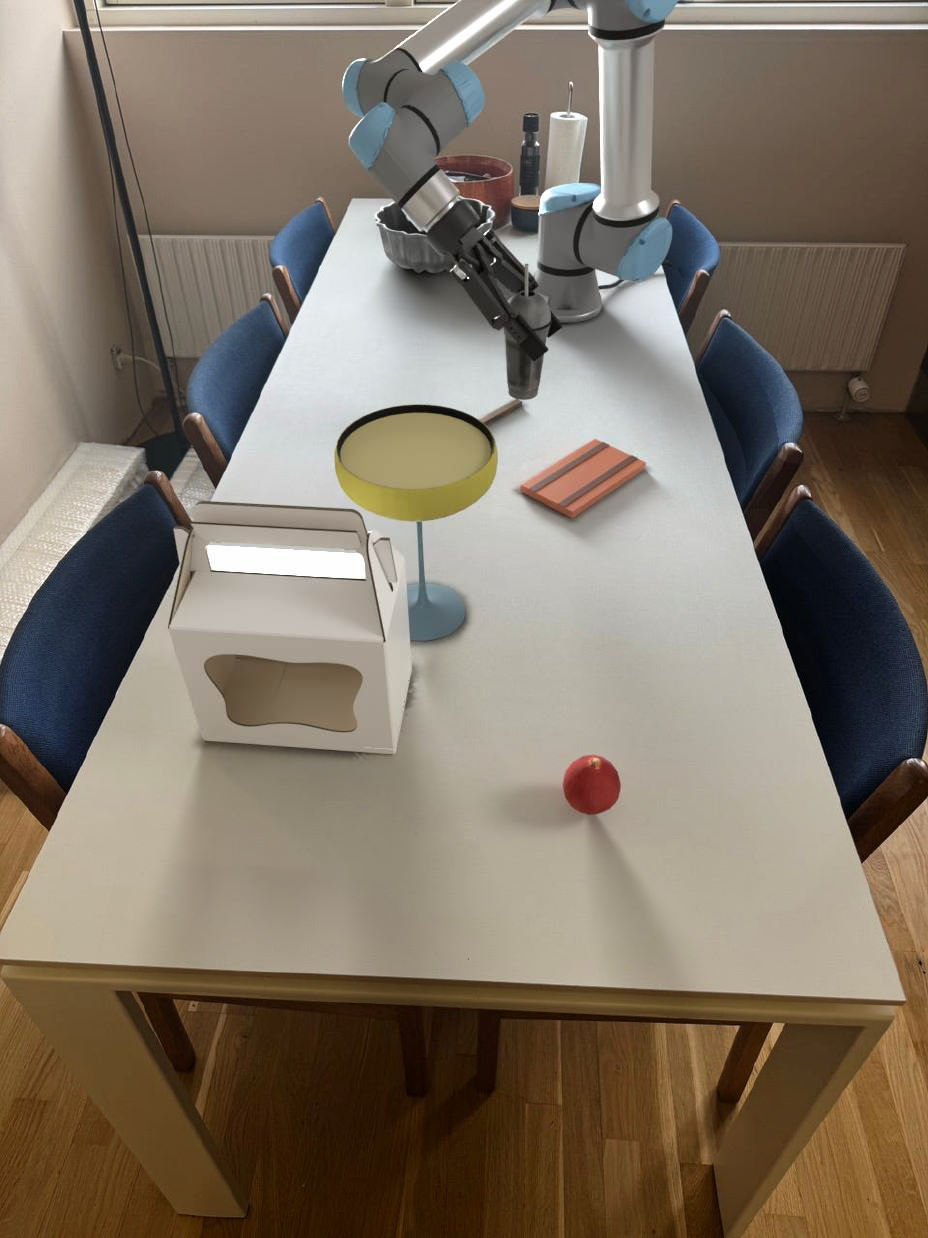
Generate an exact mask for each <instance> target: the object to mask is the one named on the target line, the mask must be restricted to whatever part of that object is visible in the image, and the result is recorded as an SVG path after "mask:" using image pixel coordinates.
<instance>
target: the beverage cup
mask: <svg viewBox="0 0 928 1238" xmlns="http://www.w3.org/2000/svg"><path fill="white" fill-rule="evenodd" d="M524 267H525V291H520V292H518V293H516V294H513V295H511V296H510V298H509V299H507V301H508V303H509V305H510V306H511V308H512V310H513V312H514V313H515V316H516V315H518V314H520V315H521V316H522V317H523V319H524V320H525V321H526V322H527V323H528V325H529V326H530V327H531V328H532V329H533V331H534V332H535V333H536V334H537V335H538V337H539V338H540V339H541V340H542V341H543V343H544V344H545V345H546V344H547V339H548V337H547V335H548V332H549V328H550V325H551V322H552V320H551V313H550V309H549V306H548V304H547V302H546V300H545V299H544V298H543V297H542V296H541V295H540V294H538V293H536V292H534V291H529V290H528V271H529V263H524ZM502 332H503V333H502V334H503V335H504V336H503V337H504V350H505V367H506V368H505V370H506V384H507V391H508V392H507V393H508V396H510V397H511V398H513V399H514V400H515V399H518V400H520V401H527V400H532V399H534V398H536V397H537V396H538V393H539V387H540V384H541V378H542V371H543V364H544V357H545V354H543V355H542V356H541V357H540V358H538V359H537V360H536V361H534V362H533V360H532V359H531V358H530V357H529V356H528V355H527V353H526V352H525V351H524V350H523V349H522V347H521V346H520V345H519V344H518V343H517V341H516V340H515V339H514V338H513V337H512V336H511V334H510V333H509V332H508V331H507V330H506V328H505V327H503V328H502ZM546 346H547V345H546Z"/></svg>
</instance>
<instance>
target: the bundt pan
mask: <svg viewBox="0 0 928 1238" xmlns="http://www.w3.org/2000/svg"><path fill="white" fill-rule="evenodd" d="M458 197H459V198H460V200H461V199H462V198H463V199H466V200H467V202H468V203H469V204H470V205H471V206H472V208H473V209H474V210H475V211H476V213H477V214H478V215H479V221H478V222H477V224H476V225H475V227H476V228H477V229H478V230H479V231H480V232H482V233H483V234H485V233H486V232H487V231H488V230H489V229H492V230H493V224H494V223H493V222H494V220H495V219H496V212H495V211H494V210H492V205H488V204H485V203H484V202H483V201H481V200H479V199H475V198H467V197H466V198H465V197H464V196H461V195H458ZM374 220H375V221H376V222H375V224H376V227H378V230H379V234H380V238H381V242H382V248H383V251H384V254H385V257H387V259H388V260H389V261H390V262H392V263H394V264H396V265H398V266H399V267H401V268H403V269H407V270H414V272H415V273H417V274H420V273H423V272H424V271H426V272H428V273H432V274H437V273H440V272H443V271H446V272H447V273H450V271H451V270H452V269H453V268H454V267H455V265H456V263H455V262H454V260H453V258H452V256H451V255H450V253H449V252H447V253H446V254H445V255H443V256H440V255H439V254H438V253H437V252H436V251H435V250H434V248H433V247H432V246H431V245H430V244H429V243H428V241H427V240H426V239H425V238H426V237H425V235H426V234H427V233H426V232H425V230H423V231H419V230H418V229H417V228H416V227H415V225H414V224H413V223H412V222H411V221H409V220H408V219H407V218H406V215H405V213H404V212H403V211H402V210H401V209H400V208H399V207H398V205H397V204H396V203H395V202H394V201H393V202H390V203H389V204H388V205H385V206H381V207H380V209H379V211H377V212H376V213H375V214H374Z"/></svg>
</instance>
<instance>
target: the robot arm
mask: <svg viewBox="0 0 928 1238" xmlns="http://www.w3.org/2000/svg"><path fill="white" fill-rule="evenodd" d="M678 2H679V0H458V1H456V2H455V3H453V4H452V5H451V6H450V7H448V8H447V9H446V10H444V11H443V12H441V13H440V14H439V15H437V16H436V17H435V18H433V19H432V20H431V21H429V22H428V23H427V24H425V25H424V26H422V27H421V28H420V29H419V30H417V31H416V32H414V33H413V34H412V35H410V36H409V37H408V38H406V39H405V40H404V41H402V42H400V44H398V45H397V46H396V47H394V48H393V49H391V50H390V51H389V52H388V53H386V54H384V55H382V56H381V57H380V58H378V59H374V58H359V59H356V60H354V61H353V62H352V63H350V64H349V65H348V67H347V68H346V70H345V72H344V75H343V78H342V84H341V88H342V89H341V91H342V97H343V100H344V101H343V102H345V105H346V107H347V108H348V110H349V111H350V112H351V113H352V114H353V115H355V116H357V117H360V118H361V119H360V121H359V122H358V123H357V124H356V125H355V127H354V128H353V129H352V131H351V133H350V135H349V136H348V146H349V148H350V150H351V151H352V153H353V154H354V156H355V157H356V158H357V160H358V161H359V163H360V164H361V165H362V166H363V167H364V169H365V172H366V173H369V175H370V176H371V177H372V178H373V179H374V180H375V182H377V183H378V184H379V186H380V187H381V189H383V190H384V191H385V193H386V194H387V195H388V196H389V197H390V198H391V200H392V201H393V202H395V203H396V204H397V205H398V207H399V208H400V209H401V210H402V211H403V212H404V213H405V215H406V218H407V219H408V220H409V221H411V222H412V223H413V224H414V225H415V227H416V228H417V229H418V230H419V231H423V230H425V232H426V233H427V234H426V235H425V237H426V238H425V239H426V240H427V241H428V243H429V244H430V245H431V246H432V247H433V248H434V250H435V251H436V252H437V253H438V254H439V255H440V256H443V255H445V254H446V253H447V252H449V253H450V255H451V256H452V258H453V260H454V262H455V263H456V265H455V267H454V268H453V269H452V270H451V271H450V272H449V274H450V276H451V277H452V279H454V280H455V281H456V282H457V283H458V284H459V285H460V286H461V288H462V289H463V290H464V291H465V293H466V294H467V295H468V297H469V298H470V300H471V301H472V302H473V303H474V305H475V306H476V308H477V309H478V310H479V312H480V313H481V314H482V316H483V317H484V319H485V320H486V321H487V323H488V324H489V325H490V326H491V328H492V329H493V330H496V331H498V332H499V331H501V330H503V327H505V328H506V330H507V331H508V332H509V333H510V334H511V336H512V337H513V338H514V339H515V340H516V341H517V343H518V344H519V345H520V346H521V347H522V349H523V350H524V351H525V352H526V353H527V355H528V356H529V357H530V358H531V359H532V360H533V362H534V361H536V360H537V359H538V358H540V357H541V356H542V355H543V354H544V355H545V354H547V353H548V351H549V350H550V349H549V347H548V346H547V345H545V344H544V343H543V341H542V340H541V339H540V338H539V337H538V335H537V334H536V333H535V332H534V331H533V329H532V328H531V327H530V326H529V325H528V323H527V322H526V321H525V320H524V319H523V317H522V316H521V315H520V314H518V315H516V316H515V313H514V312H513V310H512V308H511V306H510V305H509V303H508V299H507V298H506V296H505V294H504V292H503V290H502V288H501V287H500V286H499V284H498V282H499V283H500V284H501V285H502V286H503V287H505V288H506V289H507V290H508V291H510V292H511V293H512V294H513V295H515V294H516V293H518V292H520V291H525V265H523V264H522V263H521V262H520V260H519V259H518V258H517V257H516V256H515V255H514V254H513V253H512V252H511V251H510V249H508V247H507V246H506V245H505V244H504V243H503V242H502V241H501V239H500V237H499V236H498V235H497V233H496V232H495V230H493V228H492V229H489V230H488V231H487V232H486V233H485V234H483V233H482V232H480V231H479V230H478V229H477V228H476V227H475V225H476V224H477V222H478V221H479V215H478V214H477V213H476V211H475V210H474V209H473V208H472V206H471V205H470V204H469V203H468V202H467V200H466V199H463V198H464V197H463V198H462V199H461V200H460V198H459V197H458V196H460V193H461V192H460V190H459V189H458V187H457V186H456V185H455V184H454V182H453V181H452V180H451V179H450V178H449V176H448V175H447V174H446V173H445V172H444V170H443V169H441V167H440V166H439V165H438V163H437V162H436V160H435V158H436V157H437V156H439V155H440V153H441V152H442V151H443V150H444V149H446V147H448V145H450V144H451V143H452V142H453V141H454V140H455V139H456V138H457V137H459V136H460V135H461V134H462V133H463V132H464V131H465V130H467V129H469V127H470V126H471V124H472V122H473V121H474V120H475V119H476V118H478V116H479V115H480V114H481V113H482V112H483V109H484V108H485V103H486V97H485V92H484V89H483V85H482V83H481V81H480V78H479V76H477V74H476V73H475V72H474V71H473V70H472V68H471V67H469V66H468V65H470V64H471V63H472V62H473V61H475V60H476V59H477V58H479V57H480V56H482V54H484V53H485V52H486V51H488V50H489V49H490V48H492V47H494V45H497V43H498V42H500V41H501V40H503V39H504V38H505V37H506V36H508V35H509V34H510V33H512V32H513V31H514V30H515V29H517V28H518V27H519V26H521V25H523V24H524V22H526V21H528V20H533V21H537V20H540V19H541V18H543V17H545V16H546V15H547V14H548V13H550V12H552V11H556V10H561V9H576V10H578V11H585V12H587V22H588V23H587V24H588V26H587V27H588V35H589V37H590V38H591V39H592V40H593V41H594V42H595V43H596V44H597V45H598V69H599V70H598V75H599V76H598V77H599V80H598V82H599V125H600V126H599V133H600V135H599V136H600V137H599V140H600V185H599V184H596V183H590V182H573V183H565V184H559V185H555V186H553V187H551V188H548V189H546V190H545V191H544V192H543V193H542V195H541V196H540V203H539V209H538V210H539V212H538V213H537V214H538V218H537V219H538V221H537V222H538V223H537V248H536V249H537V252H536V253H537V254H536V268H535V272H534V274H532V273H531V272H530V271H529V270H528V290H529V291H534V292H536V293H538V294H540V295H541V296H542V297H543V298H544V299H545V300H546V302H547V304H548V306H549V309H550V313H551V320H552V322H551V325H550V328H549V332H548V335H547V339H549V338H551V337H552V336H553V335H554V334H556V333H557V332H558V331H560V330H561V329H562V328H563V327H564V325H563V324H572V323H580V322H584V321H588V320H591V319H593V318H595V317H596V316H597V315H599V314H600V312H601V310H602V295H601V292H600V290H601V291H602V290H608V289H613V288H616V287H617V286H619V285H621V284H622V283H623V282H624V281H628V282H632V283H642V282H644V281H647V280H648V279H650V278H651V277H653V275H654V274H655V273H656V272H657V271H658V270H659V268H660V267H661V266H662V265H667V266H668V267H670V268H671V267H672V268H673V267H674V264H673V263H672V262H671V261H669V260H667V259H666V257H667V255H668V252H669V250H670V247H671V244H672V240H673V227H672V224H671V222H669V219H667V218H666V217H663V216H660V198H659V195H658V194H657V193H656V192H655V191H654V190H652V167H653V166H652V164H653V163H652V159H653V121H654V118H653V117H654V78H655V77H654V76H655V75H654V74H655V40H656V37H657V36H658V35H659V34H660V33H661V32H662V31H663V30H664V28H665V26H666V19H667V18H668V17H669V16H670V15H671V14H672V13H673V11H674V9H675V8H676V6H677V3H678ZM596 271H599V272H603V273H604V274H607V275H611V276H614V277H617V278H618V280H617V281H615V282H613V283H611V284H601V285H599V282H598V277H597V272H596Z"/></svg>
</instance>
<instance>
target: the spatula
mask: <svg viewBox="0 0 928 1238" xmlns="http://www.w3.org/2000/svg"><path fill="white" fill-rule="evenodd" d="M522 406H523V400H519V399H515V398H514V399H513V400H511V401H509V402H508V403H505V404H504V405H502V406H500V407H499V408H496V409H494V410H493V411H491V412H489V413H487V414H486V415H483V416H482V417H480V418H477V419H478V420H480V421H481V422H482V423H484V424H485V425H486V426H487V425H489V424H491V423H493V422H495V421H496V420H497V421H498V419H500V418H503V417H504V416H505V415H508V414H509V413H511V412H513V411H515V410H517V409H519V408H520V407H522Z"/></svg>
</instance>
